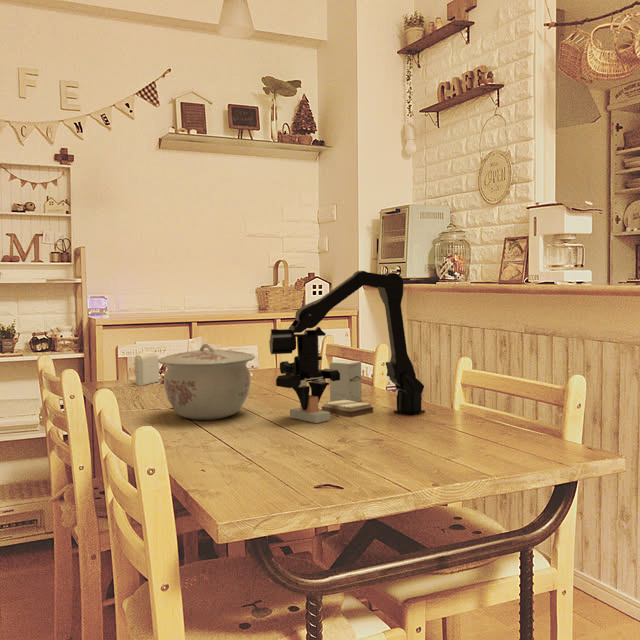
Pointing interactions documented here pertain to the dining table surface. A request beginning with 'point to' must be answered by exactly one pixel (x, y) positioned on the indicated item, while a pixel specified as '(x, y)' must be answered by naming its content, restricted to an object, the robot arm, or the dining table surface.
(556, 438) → the dining table surface
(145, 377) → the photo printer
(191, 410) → the chamber pot
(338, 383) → the supplement box
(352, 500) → the dining table surface
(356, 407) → the pad
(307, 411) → the stub
